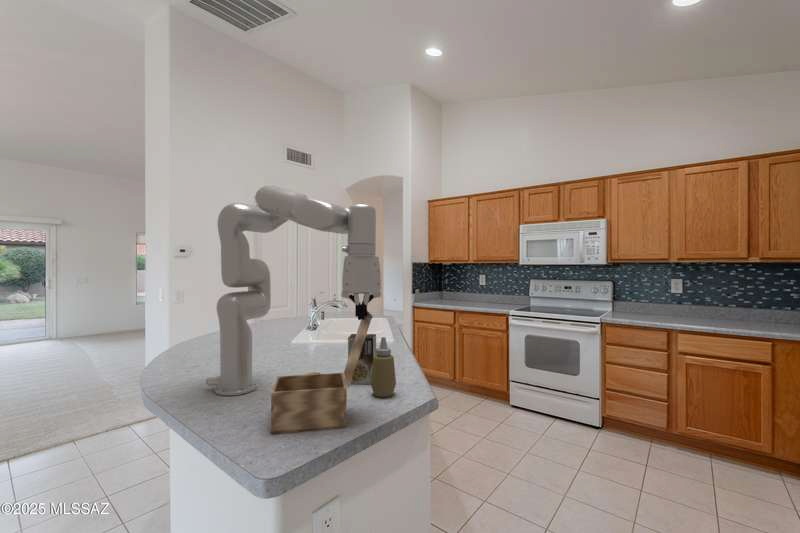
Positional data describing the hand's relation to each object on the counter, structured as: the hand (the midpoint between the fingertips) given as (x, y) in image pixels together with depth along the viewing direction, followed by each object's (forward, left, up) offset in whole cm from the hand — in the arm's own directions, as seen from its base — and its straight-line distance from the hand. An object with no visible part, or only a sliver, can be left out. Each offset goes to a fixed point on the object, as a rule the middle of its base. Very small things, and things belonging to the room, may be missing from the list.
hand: (361, 319), depth 99 cm
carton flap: (-1, 0, -7) cm, 7 cm away
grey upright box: (+4, +28, -26) cm, 39 cm away
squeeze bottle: (+9, +14, -26) cm, 31 cm away
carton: (-13, 0, -26) cm, 29 cm away
